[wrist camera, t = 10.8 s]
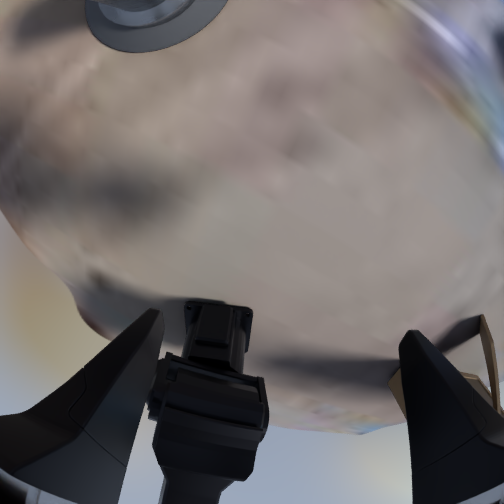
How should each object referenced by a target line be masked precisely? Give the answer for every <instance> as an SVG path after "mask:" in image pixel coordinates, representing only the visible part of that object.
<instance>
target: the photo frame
mask: <svg viewBox="0 0 504 504" xmlns="http://www.w3.org/2000/svg"><path fill="white" fill-rule="evenodd" d="M480 337H481V341H482V345H483V350H484V354H485V359H486V364H487V369H488V375H489V381H490V387H491V393H490V391H489V390H488V388H487V387H486V386H485V385H484V383H483V382H482V381H481V380H480V378H479V377H478V376H477V375H473V374H468V373H463V372H460V373H461V374H462V375H463V376H464V377H465V379H466V380H467V381H468V382H469V383H470V384H471V385H472V386H473V387H474V388H475V389H476V390H477V392H478V393H479V394H480V395H481V396H482V397H483V398H484V399H485V400H486V401H487V402H488V403H489V404H490V405H491V406H492V407H493V408H494V409H495V410H496V411H497V412H498V413H499V414H500V415H501V416H502V417H503V418H504V410H503V409H502V407H501V406H500V391H499V379H498V370H497V362H496V355H495V348H494V342H493V339H492V336H491V333H490V331H489V328H488V325H487V323H486V320H485V317H484V315H481V318H480ZM387 384H388V386H389V387H390V389H391V391H392V393H393V395H394V397H395V399H396V401H397V403H398V404H399V406H400V408H401V410H402V412H403V414H404V416H405V418H406V420H407V417H406V410H405V403H404V396H403V390H402V383H401V371H400V368H399V370H398V371H397V372H396V373H395V374H394V376H393V377H392V378H391V379H390V380H389V382H388V383H387Z"/></svg>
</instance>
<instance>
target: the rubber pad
mask: <svg viewBox="0 0 504 504" xmlns="http://www.w3.org/2000/svg"><path fill="white" fill-rule="evenodd" d="M227 1H228V0H195V1H194V2H193V4H192V5H191V6H190V7H189V8H188V9H187V10H186V11H185V12H183V13H182V14H181V15H179V16H178V17H176V18H175V19H173V20H171V21H169V22H167V23H164V24H162V25H159V26H155V27H150V28H132V27H128V26H124V25H120V24H117V23H114V22H112V21H110V20H109V19H108V18H106V17H105V15H104V14H103V13H102V11H101V10H100V7H99V4H98V2H96V1H92V0H86V3H85V12H86V18H87V22H88V24H89V27H90V29H91V30H92V32H93V33H94V35H95V36H96V37H97V38H98V39H99V40H100V41H102V42H103V43H104V44H106V45H108V46H110V47H112V48H115V49H117V50H122V51H126V52H150V51H157V50H160V49H164V48H168V47H170V46H173V45H176V44H178V43H180V42H182V41H184V40H186V39H188V38H190V37H191V36H193V35H195V34H196V33H198V32H199V31H200V30H202V29H203V28H204V27H206V26H207V25H208V24H209V23H210V22H211V21H212V20H213V19H214V18H215V17H216V16H217V15H218V14H219V13H220V11H221V10H222V9H223V7H224V6H225V4H226V3H227Z"/></svg>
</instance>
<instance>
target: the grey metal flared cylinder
mask: <svg viewBox="0 0 504 504" xmlns="http://www.w3.org/2000/svg"><path fill="white" fill-rule="evenodd" d="M92 1H96V2H98V4H99V7H100V10H101V11H102V13H103V14H104V15H105V17H106V18H108V19H109V20H110V21H112V22H114V23H117V24H120V25H124V26H128V27H132V28H150V27H155V26H159V25H162V24H164V23H167V22H169V21H171V20H173V19H175V18H176V17H178V16H179V15H181V14H182V13H183V12H185V11H186V10H187V9H188V8H189V7H190V6H191V5H192V4H193V2H194V1H195V0H92Z"/></svg>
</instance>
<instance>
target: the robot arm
mask: <svg viewBox="0 0 504 504" xmlns="http://www.w3.org/2000/svg"><path fill="white" fill-rule="evenodd" d="M189 306H190V307H189ZM184 313H185V323H186V333H187V336H186V340H185V343H184V347H183V351H182V355H181V357H179V356H176V355H173V353H170V352H166V355H165V359H164V358H162V359H160V360H158V358H159V353H160V348H161V343H162V338H163V334H164V320H163V314H162V311H161V310H160V309H155V308H149V309H148V310H147V311H146V312H145V313H143V314H142V315H141V316H140V317H139V318H138V319H136V320H135V321H134V322H133V323H132V324H131V325H130V326H129V327H127V328H126V329H125V330H124V331H123V332H122V333H121V334H119V335H118V336H117V337H116V338H115V339H114V340H113V341H112V342H110V343H109V344H108V345H107V346H106V347H105V348H104V349H103V350H102V351H100V352H99V353H98V354H97V355H96V356H95V357H94V358H93V359H92V360H90V361H89V362H88V363H87V364H86V365H85V366H84V368H82V369H80V370H79V371H78V372H77V373H76V374H75V375H74V376H73V377H71V378H70V379H69V380H68V381H67V382H66V383H64V384H63V385H62V386H60V387H59V388H58V389H56V390H55V391H54V392H52V393H51V394H50V395H48V396H47V397H46V398H44V399H43V400H41V401H40V402H39V403H37V404H36V405H35V406H33V407H32V408H30V409H28V410H26V411H24V412H22V413H18V414H11V415H3V416H0V504H118V500H119V496H120V492H121V488H122V484H123V480H124V476H125V473H126V469H127V468H126V467H127V465H128V461H129V457H130V453H131V450H132V447H133V443H134V440H135V436H136V432H137V429H138V425H139V422H140V419H141V416H142V412H143V409H144V406H145V403H147V405H148V409H147V410H149V415H148V419H150V420H153V421H157V424H156V428H155V433H154V437H153V443H152V447H153V450H154V452H155V455H156V458H157V461H158V464H159V465H160V467H161V470H162V472H163V475H164V480H163V484H162V489H161V493H160V498H159V503H158V504H218V503H219V498H220V495H221V492H222V491H223V490H225V489H226V488H227V487H228V486H229V485H230V484H232V483H233V482H234V481H245V480H246V479H247V478H248V477H249V476H250V474H251V473H252V472H253V467H254V462H255V456H256V451H257V447H258V444H259V443H260V442H261V441H262V440H263V438H264V436H265V434H266V431H267V427H268V423H269V407H268V401H267V395H266V389H265V383H264V378H262V377H258V376H257V377H253V376H249V375H245V374H243V365H244V354H245V353H246V352H247V351H248V347H249V340H250V333H251V326H252V318H253V311H252V310H251V309H249V308H240V307H231V306H223V305H214V304H206V303H198V302H191V301H188V302H186V303H185V305H184ZM246 313H249V314H246ZM399 359H400V371H401V383H402V390H403V396H404V403H405V410H406V417H407V425H408V434H409V443H410V455H411V469H412V495H413V504H504V418H503V417H502V416H501V415H500V414H499V413H498V412H497V411H496V410H495V409H494V408H493V407H492V406H491V405H490V404H489V403H488V402H487V401H486V400H485V399H484V398H483V397H482V396H481V395H480V394H479V393H478V392H477V390H476V389H475V388H474V387H473V386H472V385H471V384H470V383H469V382H468V381H467V380H466V379H465V377H464V376H463V375H462V374H461V373H460V372H459V371H458V370H457V369H456V368H455V367H454V366H453V365H452V364H451V363H450V362H449V361H448V360H447V358H446V357H445V356H444V355H443V354H442V353H441V352H440V351H439V350H438V349H437V348H436V347H435V346H434V345H433V344H432V343H431V342H430V341H429V340H428V339H427V338H426V337H425V336H424V335H423V334H422V333H421V332H420V331H419V330H408V331H407V333H406V334H405V336H404V337H403V339H402V340H401V342H400V344H399Z"/></svg>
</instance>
